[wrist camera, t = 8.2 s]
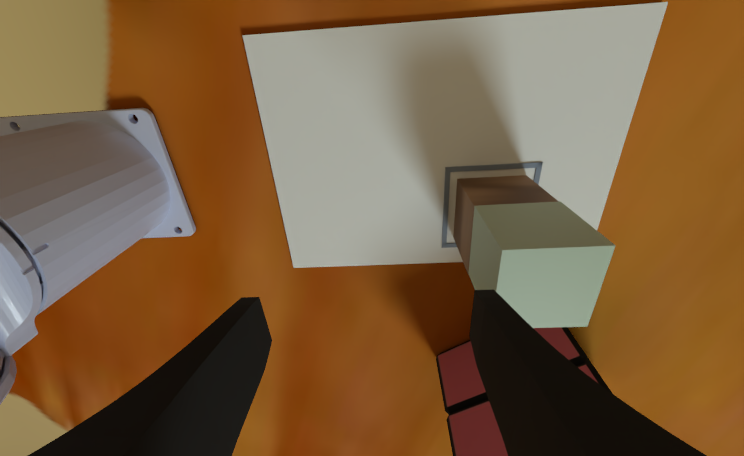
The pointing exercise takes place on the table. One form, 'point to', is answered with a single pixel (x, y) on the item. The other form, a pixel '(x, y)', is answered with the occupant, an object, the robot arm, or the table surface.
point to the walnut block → (489, 202)
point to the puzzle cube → (471, 404)
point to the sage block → (539, 261)
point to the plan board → (442, 122)
